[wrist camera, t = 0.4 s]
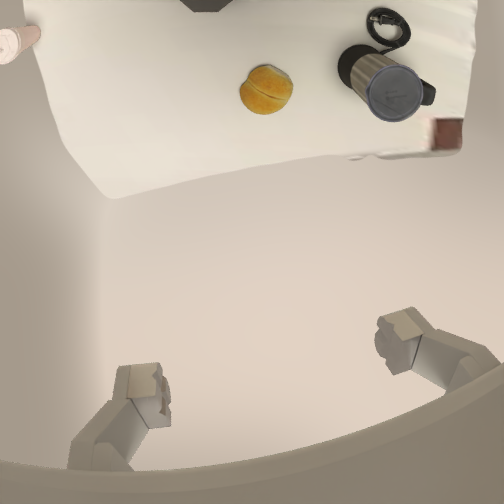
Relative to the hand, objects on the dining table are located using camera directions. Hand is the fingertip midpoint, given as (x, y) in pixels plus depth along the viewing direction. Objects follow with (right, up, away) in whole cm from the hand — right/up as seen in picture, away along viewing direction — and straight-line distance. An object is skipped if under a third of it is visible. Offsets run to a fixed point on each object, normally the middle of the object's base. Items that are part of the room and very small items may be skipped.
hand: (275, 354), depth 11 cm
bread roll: (+2, +32, +40) cm, 52 cm away
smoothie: (-40, +42, +26) cm, 64 cm away
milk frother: (+20, +39, +35) cm, 56 cm away
